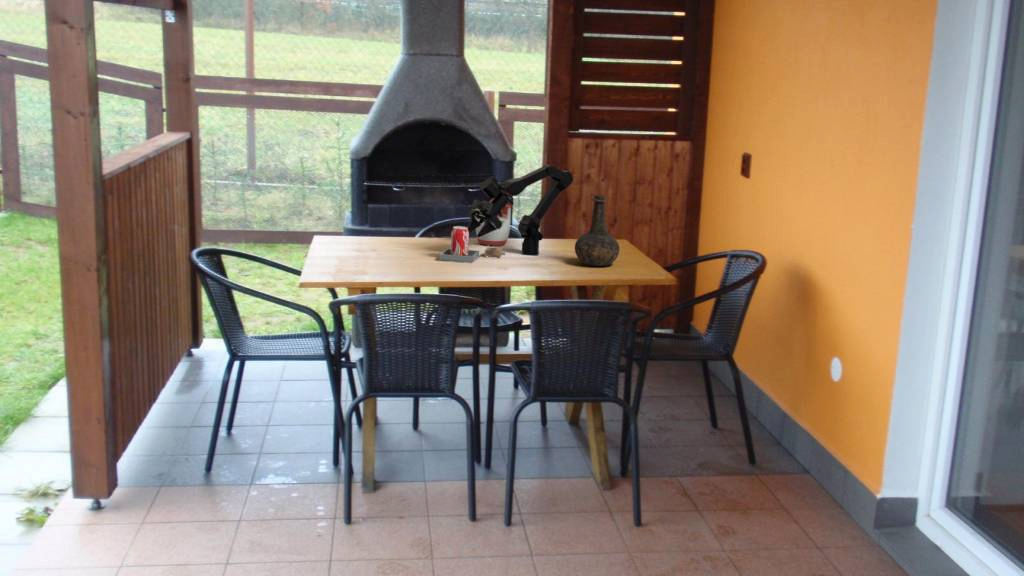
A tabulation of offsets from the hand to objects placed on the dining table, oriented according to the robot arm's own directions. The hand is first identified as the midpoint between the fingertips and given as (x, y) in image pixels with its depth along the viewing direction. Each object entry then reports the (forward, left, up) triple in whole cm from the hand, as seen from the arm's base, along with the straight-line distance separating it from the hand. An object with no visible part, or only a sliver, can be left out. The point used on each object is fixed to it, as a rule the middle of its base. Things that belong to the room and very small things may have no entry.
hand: (472, 234), depth 399 cm
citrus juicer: (-3, -34, -10) cm, 35 cm away
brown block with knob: (-8, -8, -9) cm, 15 cm away
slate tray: (+4, +3, -9) cm, 11 cm away
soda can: (+4, +3, -9) cm, 10 cm away
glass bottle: (-50, -4, -10) cm, 51 cm away
